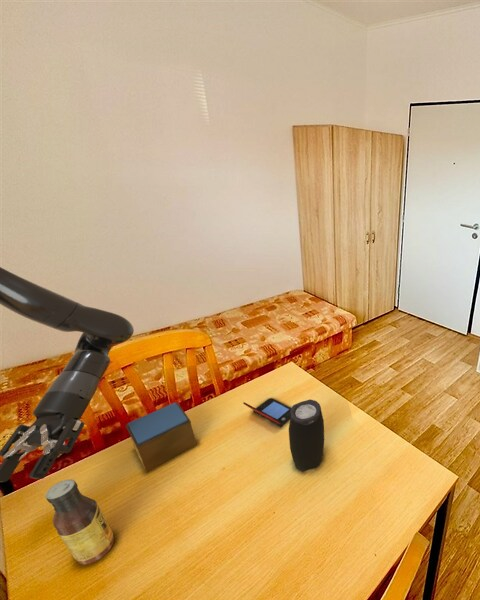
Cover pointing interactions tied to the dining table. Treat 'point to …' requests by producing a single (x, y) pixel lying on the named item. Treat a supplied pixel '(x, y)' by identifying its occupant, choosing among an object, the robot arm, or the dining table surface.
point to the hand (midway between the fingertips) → (17, 479)
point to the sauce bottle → (79, 522)
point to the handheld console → (273, 411)
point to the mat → (157, 423)
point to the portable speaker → (306, 434)
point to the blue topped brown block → (165, 445)
